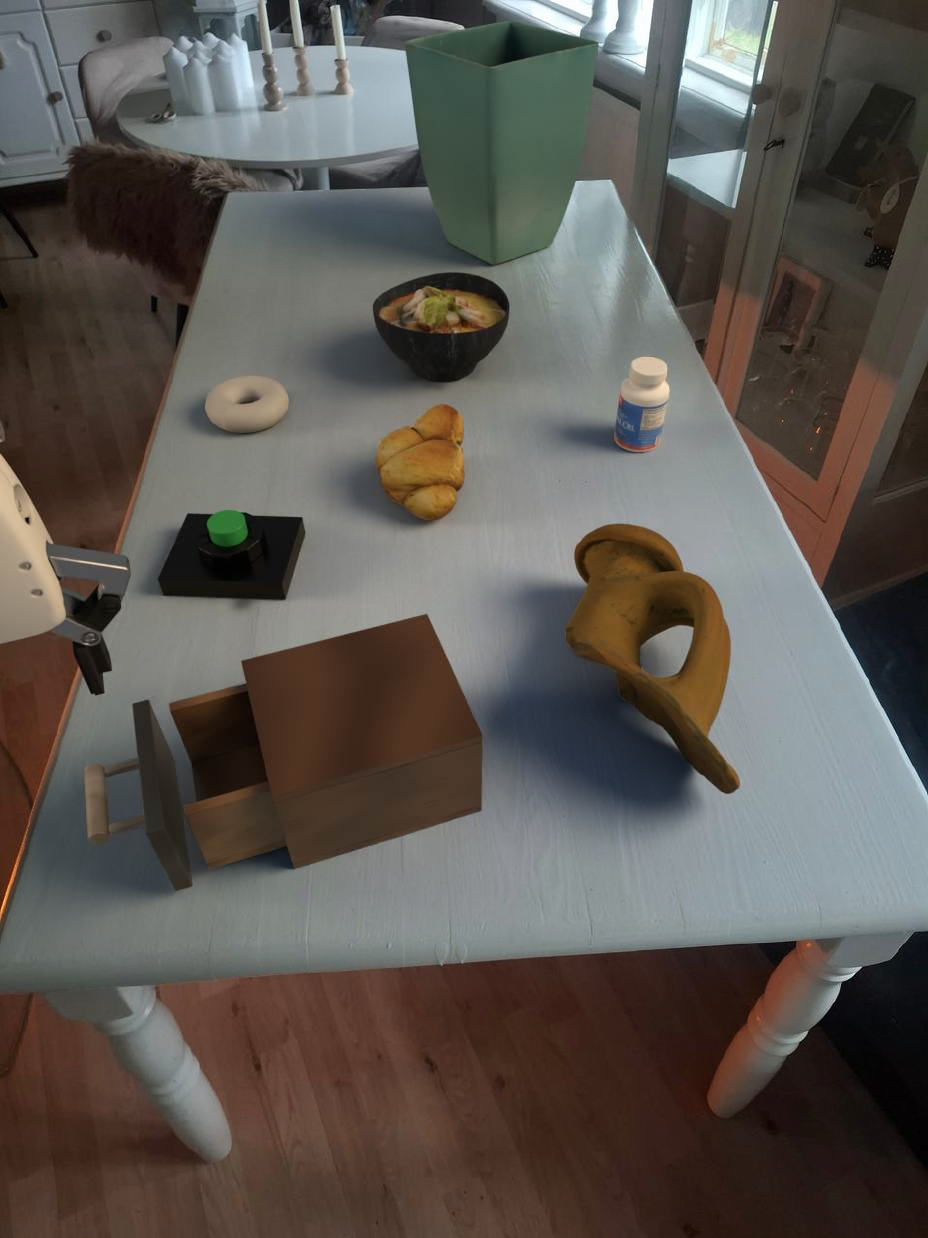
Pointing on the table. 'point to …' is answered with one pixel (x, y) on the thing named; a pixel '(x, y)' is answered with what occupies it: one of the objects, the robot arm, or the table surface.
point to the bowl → (442, 323)
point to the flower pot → (501, 131)
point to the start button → (227, 528)
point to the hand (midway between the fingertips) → (12, 698)
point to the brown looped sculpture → (638, 610)
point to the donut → (236, 415)
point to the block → (234, 560)
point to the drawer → (223, 778)
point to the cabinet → (364, 738)
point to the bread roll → (424, 463)
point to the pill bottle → (642, 405)
